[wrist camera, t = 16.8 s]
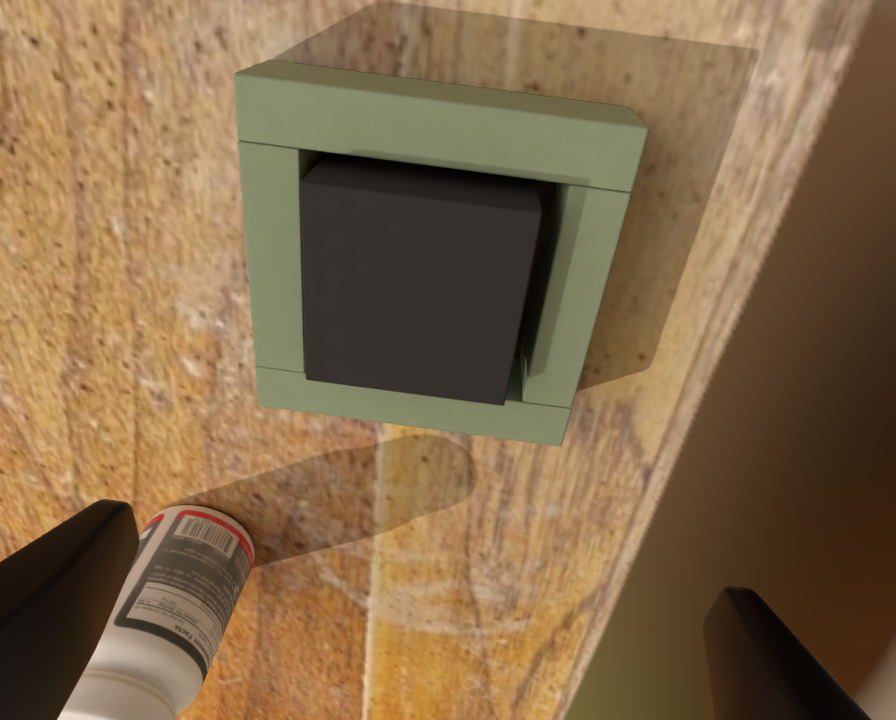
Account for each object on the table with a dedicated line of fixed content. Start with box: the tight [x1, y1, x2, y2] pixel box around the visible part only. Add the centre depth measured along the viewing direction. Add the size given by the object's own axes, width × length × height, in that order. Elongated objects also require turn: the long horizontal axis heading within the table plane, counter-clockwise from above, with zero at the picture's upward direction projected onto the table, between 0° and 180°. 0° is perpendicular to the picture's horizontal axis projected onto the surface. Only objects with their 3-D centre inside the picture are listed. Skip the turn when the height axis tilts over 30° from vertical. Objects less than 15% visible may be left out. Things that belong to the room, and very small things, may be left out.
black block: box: [300, 152, 542, 406], centre depth 17 cm, size 6×6×4 cm
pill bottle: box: [57, 505, 254, 720], centre depth 23 cm, size 5×5×8 cm
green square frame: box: [233, 60, 649, 446], centre depth 17 cm, size 10×10×2 cm
